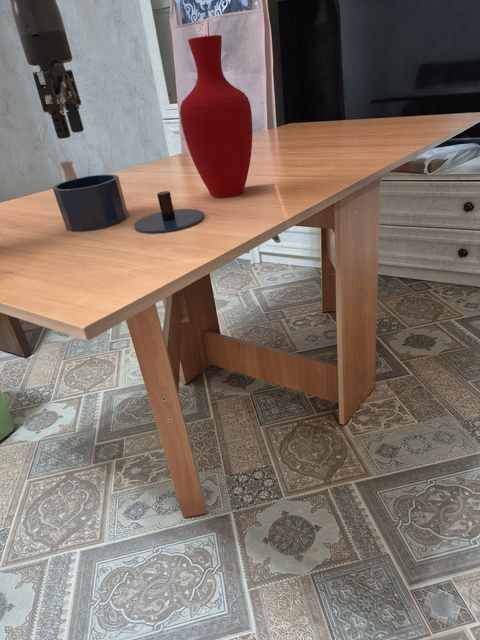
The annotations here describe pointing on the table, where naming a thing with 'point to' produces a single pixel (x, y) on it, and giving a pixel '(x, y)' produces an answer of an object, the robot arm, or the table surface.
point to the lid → (168, 217)
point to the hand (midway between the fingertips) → (71, 134)
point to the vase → (217, 123)
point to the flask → (67, 170)
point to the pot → (91, 202)
